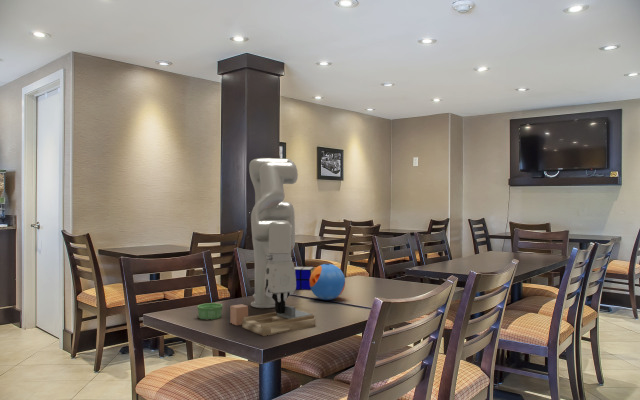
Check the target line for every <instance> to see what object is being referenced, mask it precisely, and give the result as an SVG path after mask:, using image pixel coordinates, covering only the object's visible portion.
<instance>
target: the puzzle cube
mask: <svg viewBox="0 0 640 400" xmlns="http://www.w3.org/2000/svg"><path fill="white" fill-rule="evenodd" d="M294 268H295V275H296V290H297V291H299V290H302V291H312V290H311V288H310V276H311V274H312V272H313V271H314V269H315V267H314V266H294ZM296 290H295V291H296Z"/></svg>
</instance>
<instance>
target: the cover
mask: <svg viewBox="0 0 640 400" xmlns="http://www.w3.org/2000/svg"><path fill="white" fill-rule="evenodd" d="M277 315H278V316H281V317H284V318H287V319H292V318H297V317H303V316H309V315H313V313H309V312H305V311H302V310H299V309H296V307H295V306H291V305H287V304H285V313H282V314H279V313H277Z"/></svg>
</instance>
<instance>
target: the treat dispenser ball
mask: <svg viewBox="0 0 640 400" xmlns="http://www.w3.org/2000/svg"><path fill="white" fill-rule="evenodd" d="M345 286H346V277H345V274H344V273H343V271H342V270H341V268H340V267H338V266H337V265H335V264H332V263H323V264H320V265H318V266H317V267H315V268H314V271H313V272H312V274H311V276H310V288H311V290H310V291H311V292H312V294H313V295H314V296H315V297H317V298H318V299H320V300H323V301H331V300H332V301H333V300H334V299H337V298H338V297H340V295H342V293H343V291H344V290H345Z"/></svg>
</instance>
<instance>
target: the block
mask: <svg viewBox="0 0 640 400" xmlns="http://www.w3.org/2000/svg"><path fill="white" fill-rule="evenodd" d="M229 307H230V308H229V309H230V310H229V311H230V315H229V317H230V318H229V320H230V322H229V323H230V324H231V323H232V324H231V325H234V326H242V320H243V317H249V306H248V305H245V304H242V303H241V304H234V305H230V306H229Z"/></svg>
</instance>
